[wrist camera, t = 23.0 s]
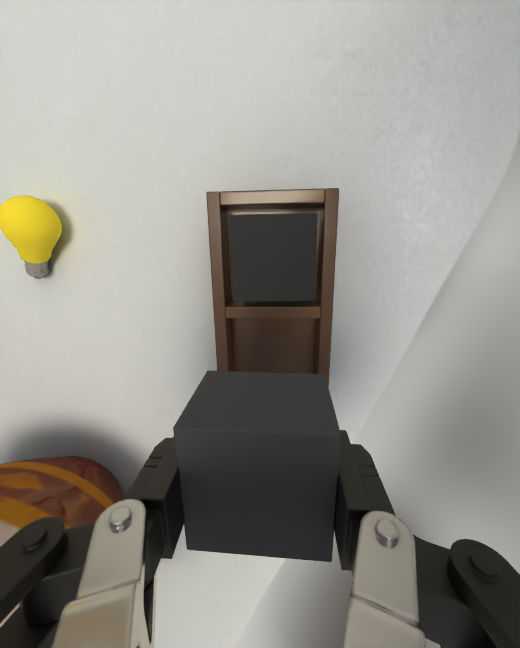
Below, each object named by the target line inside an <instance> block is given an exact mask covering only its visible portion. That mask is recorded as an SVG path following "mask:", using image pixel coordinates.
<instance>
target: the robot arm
mask: <svg viewBox="0 0 520 648" xmlns="http://www.w3.org/2000/svg"><path fill="white" fill-rule="evenodd" d="M340 434H341V444H340V457H339V471H338V484H337V497H336V511H335V524H334V531H335V537H336V542H337V548H338V553H339V559H340V563H341V569H342V570H351V571H352V576H353V581H352V589H351V594H350V598H349V605H348V613H347V620H346V627H345V634H344V642H343V648H426V647H425V638H427V639H429V640H431V641H433V642H435V643H438V644H439V645H440V647H441V648H520V574H519V573H518V572H517V571H516V570H515V569H514V568H513V567H512V566H511V565H510V564H509V563H508V561H506V560H505V559H504V558H503V557H502V556H501V555H500V554H498V552H496V551H495V550H493V549H492V548H490V547H488V546H487V545H485V544H482V543H480V542H477V541H474V540H470V539H461V540H458V541H456V542H454V543H453V544H452V546H451V549H447V548H444V547H441V546H438V545H435V544H432V543H429V542H427V541H424V540H422V539H420V538H418V537H416V536H415V535H413V534H412V532H411V530H410V529H409V527H408V526H407V525H406V524H405V523H404V522H403V521H401V519H399V518H398V517H396V515H395V513H394V510H393V508H392V506H391V503H390V501H389V498H388V496H387V493H386V491H385V489H384V487H383V484H382V481H381V479H380V477H379V474H378V472H377V469H376V468H375V465H374V462H373V460H372V457H371V455H370V454H369V453H368V452H367V451H366V450H365V449H364V447H363V446H361V445H358V444H350V441H349V438H348V435H347V432H346V431H345V430H340ZM184 521H185V518H184V509H183V500H182V491H181V482H180V474H179V467H178V465H177V456H176V447H175V439H174V437H173V438H165V439H164V440H163V441H161V442H160V443H159V444H158V445H157V446H155V448H154V450H153V451H152V453H151V455H150V456H149V459H148V460H147V461H146V463H145V465H144V468H142V470H141V471H140V473H139V475H138V476H137V478H136V480H135V481H134V483H133V485H132V486H131V488H130V490H129V491H128V493H127V495H126V496H125V498H124V499H123V500H122V501H119V502H117V503H115V504H113V505H111V506H110V507H108V508H107V509H106V510H105V511H103V513H102V514H101V515H100V516H99V517H98V519H97V521H95V522H92V523H89V524H85V525H81V526H76V527H72V528H68V529H66V528H65V524H64V522H63V520H62V519H61V518H59V517H53V516H50V517H44V518H41V519H38V520H35V521H33V522H31V523H29V524H28V525H26V526H24V527H23V528H21V529H20V530H19V531H18V532H16V533H15V534H14V535H13V536H12V537H11V538H10V539H8V540H7V541H6V542H5V543H4V544H3V545H2V546H0V623H1V622H2V621H3V620H4V619H5V618H6V617H7V616H8V615H9V614H10V612H11V611H12V610H13V609H14V608H15V607H16V606H17V605H18V604H19V607H18V608H17V609H16V611H15V612H14V613H13V614H12V615H11V616H10V617H9V618H8V619H7V621H6V622H5V623H4V624H3V625H2V626H1V627H0V648H51V647H52V648H154V631H155V601H156V573H155V572H156V570H157V567H158V564H159V562H160V559H161V558H167V559H172V557H173V554H174V551H175V548H176V545H177V542H178V539H179V536H180V533H181V530H182V527H183V524H184Z"/></svg>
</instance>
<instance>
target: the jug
mask: <svg viewBox="0 0 520 648" xmlns="http://www.w3.org/2000/svg"><path fill="white" fill-rule="evenodd" d="M122 500H123V496H122V492H121V488H120V486H119V484H118V482H117V480H116V479H115V477H114V476H113V475H112V474H111V473H110V472H109V471H108V470H107V469H106V468H104V467H103V466H102V465H100V464H98V463H96V462H95V461H92V460H90V459H86V458H82V457H75V456H72V457H53V458H41V459H33V460H26V461H19V462H12V463H6V464H1V465H0V546H2V545H3V544H4V543H5V542H6V541H7V540H8V539H10V538H11V537H12V536H13V535H14V534H15V533H16V532H18V531H19V530H20V529H21V528H23V527H24V526H26V525H28V524H29V523H31V522H33V521H35V520H38V519H41V518H44V517H50V516H53V517H59V518H61V519H62V520H63V522H64V524H65V528H66V529H68V528H72V527H76V526H81V525H85V524H89V523H92V522H95V521H97V519H98V517H99V516H100V515H101V514H102V513H103V511H105V510H106V509H107V508H108V507H110V506H111V505H113V504H115V503H117V502H119V501H122ZM18 607H19V604H18V605H17V606H16V607H15V608H14V609H13V610H12V611H11V612H10V614H9V615H8V616H7V617H6V618H5V619H4V620H3V621H2V622H1V623H0V627H1V626H2V625H3V624H4V623H5V622H6V621H7V619H8V618H9V617H10V616H11V615H12V614H13V613H14V612H15V611H16V609H17V608H18ZM51 648H52V647H51Z"/></svg>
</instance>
